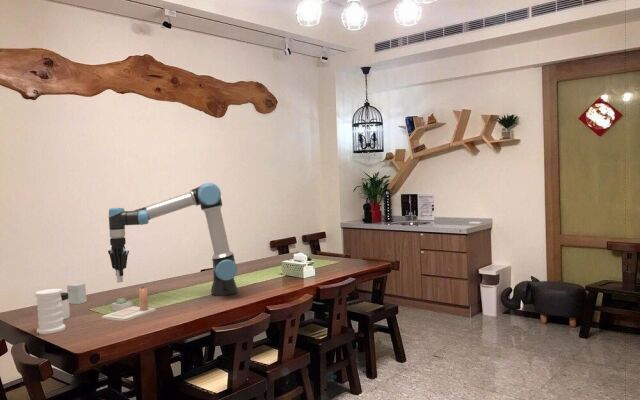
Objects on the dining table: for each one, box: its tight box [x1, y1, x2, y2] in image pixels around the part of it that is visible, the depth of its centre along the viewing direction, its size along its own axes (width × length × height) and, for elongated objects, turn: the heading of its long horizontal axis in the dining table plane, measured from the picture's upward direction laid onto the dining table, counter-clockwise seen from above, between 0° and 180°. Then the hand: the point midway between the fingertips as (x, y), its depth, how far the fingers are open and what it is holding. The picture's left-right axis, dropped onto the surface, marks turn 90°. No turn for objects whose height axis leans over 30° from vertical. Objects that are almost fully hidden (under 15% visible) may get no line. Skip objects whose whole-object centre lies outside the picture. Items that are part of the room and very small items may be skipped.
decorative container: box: [34, 288, 66, 335], centre depth 230 cm, size 12×12×18 cm
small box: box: [66, 282, 87, 305], centre depth 284 cm, size 8×6×10 cm
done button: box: [116, 297, 127, 304], centre depth 265 cm, size 4×4×4 cm
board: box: [101, 305, 157, 322], centre depth 253 cm, size 16×20×1 cm
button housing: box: [110, 300, 133, 312], centre depth 265 cm, size 7×7×4 cm
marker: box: [138, 285, 149, 311], centre depth 256 cm, size 4×4×12 cm
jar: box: [61, 292, 71, 320], centre depth 251 cm, size 9×8×12 cm
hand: (120, 282), depth 264 cm, fingers closed
